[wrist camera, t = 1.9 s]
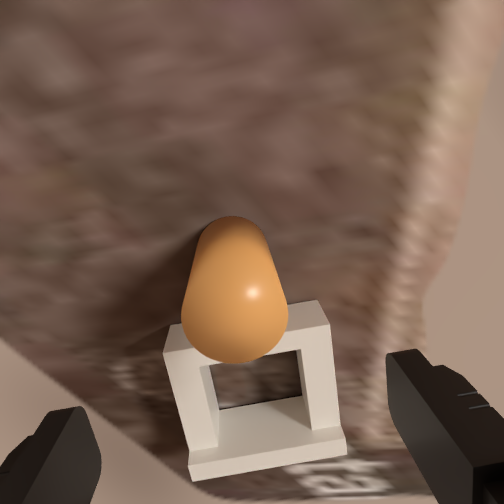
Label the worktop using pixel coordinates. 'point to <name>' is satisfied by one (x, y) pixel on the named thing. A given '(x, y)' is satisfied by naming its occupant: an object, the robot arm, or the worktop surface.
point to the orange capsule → (233, 294)
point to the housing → (259, 405)
